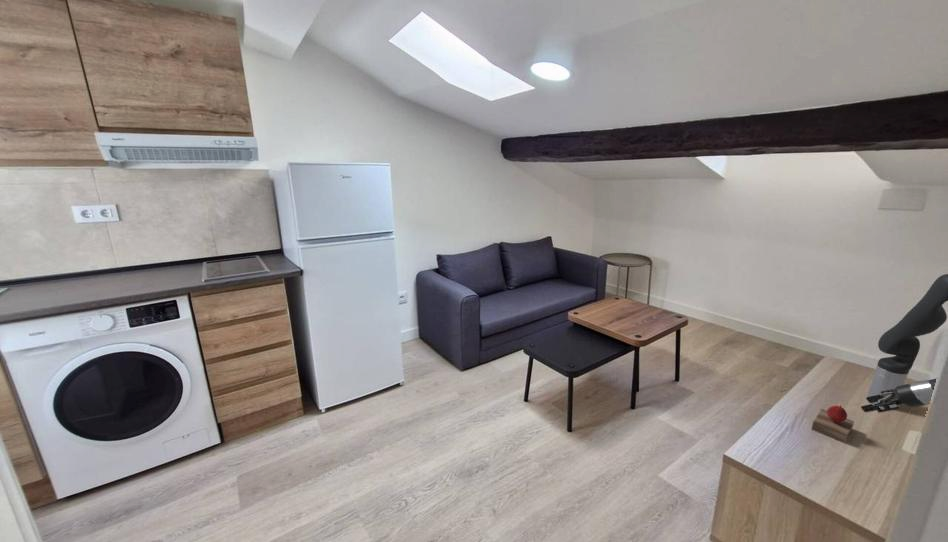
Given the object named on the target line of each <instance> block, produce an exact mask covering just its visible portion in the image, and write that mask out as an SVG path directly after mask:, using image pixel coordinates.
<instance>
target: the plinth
mask: <svg viewBox="0 0 948 542" xmlns="http://www.w3.org/2000/svg"><path fill="white" fill-rule="evenodd" d="M854 424H855V421H854V420H851V419H849V418H848V417H847V418H846V420H845V421H842V422H834V421H833V420H831V419H830V418H829V416H828V414H827V410H825V409H820V411H819V412H818V414H817V415H816V417H815V419H814V420H813V422H812V426H811V430H812V431H815V432H817V433H820V434H822V435H824V436H827V437H829V438H831V439H834V440H836V441H838V442H840V443H843V444H845V443H846V441H847V440H848V437H849V436H850V433H852V430H853V427H854Z"/></svg>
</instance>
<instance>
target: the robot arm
mask: <svg viewBox="0 0 948 542" xmlns="http://www.w3.org/2000/svg"><path fill="white" fill-rule="evenodd" d="M946 302H948V273H946V274H945V273H944V274H942V275H940V276H939V277H937V278H936V279H935V280H934V281H933V283H932V284H931V285H930V287H929V289H928V290H927V291H926V293H925V294H924V295H923V297H922V298H921V299H920V300H919V301H918V302H917V303H916V304H915V305H914V306H913V307H912V308H911V309H910V310H909V311H907V313H906V314H905V315H904V316H903V317H902V318H901V320H900V321H899V322H897V323H896V324H895V325H893V326H892V327H891V328H889V329H888V330H886V332H884V333H883V334H882V335H881V336H880V337H879V339H878V346H877V347H878V349H879V350H880V352H882V353H884V354H888V355H892V356H889V357H888V356H887V357H882V358H879V359H878V361H877V364H876V368H875V372H874V373H873V377H872V380H871V383H870V385H869V389H868V392H867V395H866V399H865V400H866V401H867V402H868V403H870V404H865V405H861V407H860V409H861V410H862V411H863V412H864V413H870V412H874V411H877V413H878V414H879V413H884V412H885V413H886V412H889V411H894V410H895V411H896V410H899V409H900V407H899V406H901V405H906V406H907V407H909V408H918V407H919V408H920V407H924V406H928V405H931V404H930V401H931V397H932V393H933V390H934V386H935V383H936V379H937V378H938V377H937V378H932V379H926V380H920V381H915V382H912V383H911V382H910V383H906V381H907V378H908V377H909V373H910V370H911V369H912V367H913V366H914V363H915V361H916V359H917V356H918V354H919V352H920V349H921V342H920V339H919V338H918V337H921V336H925V335H929V334H931V333H933V332H935V331H937V330H938V329H939V328H940V327H941V326H943V325H944V324H945V323H946V321H947V319H948V315H947V312H946V310H945V307H943V305H944V304H945V303H946Z"/></svg>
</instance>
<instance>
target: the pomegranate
mask: <svg viewBox="0 0 948 542" xmlns="http://www.w3.org/2000/svg"><path fill="white" fill-rule="evenodd" d="M826 411H827V414H828V416H829V418H830V419H831V420H833V421H834V422H842V421H845V420H846V418H847V419H848V413H847V411H846V409H844V408H843V407H842V405H841V404H839V403H838V404H837V405H832V406H830V407H829V408H828V409H827V410H826Z"/></svg>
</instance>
